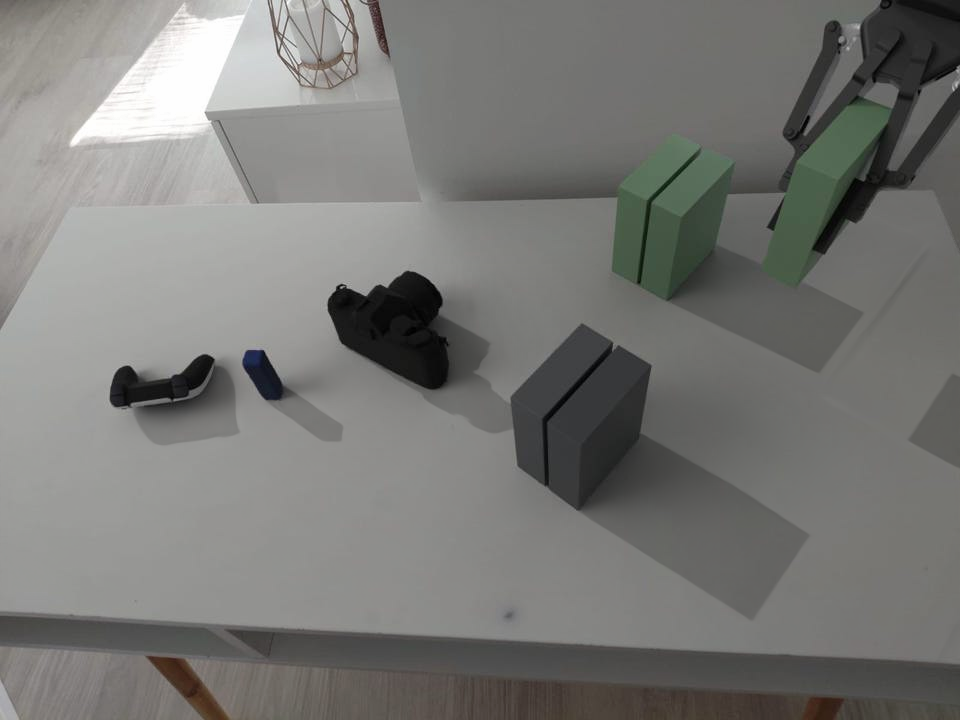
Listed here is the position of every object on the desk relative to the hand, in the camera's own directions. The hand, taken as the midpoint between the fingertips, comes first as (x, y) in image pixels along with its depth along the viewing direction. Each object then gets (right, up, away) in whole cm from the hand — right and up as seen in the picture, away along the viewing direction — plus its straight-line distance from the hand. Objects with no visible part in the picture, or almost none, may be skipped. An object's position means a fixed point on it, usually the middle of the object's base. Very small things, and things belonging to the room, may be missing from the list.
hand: (795, 240), depth 66 cm
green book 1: (-8, +2, +23) cm, 24 cm away
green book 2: (-5, 0, +21) cm, 22 cm away
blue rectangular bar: (-50, -14, +16) cm, 54 cm away
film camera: (-36, -8, +19) cm, 41 cm away
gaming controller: (-62, -14, +18) cm, 66 cm away
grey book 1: (-19, -19, +10) cm, 28 cm away
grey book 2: (-16, -21, +8) cm, 27 cm away
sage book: (+3, 0, +5) cm, 6 cm away
